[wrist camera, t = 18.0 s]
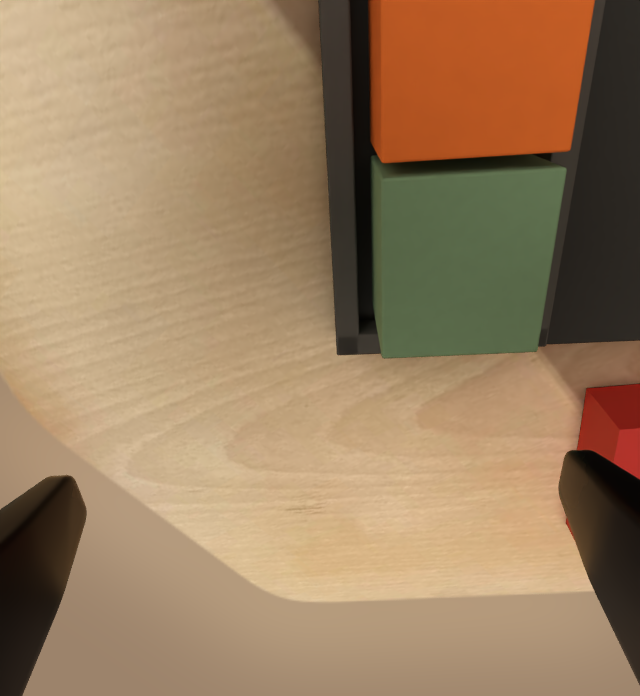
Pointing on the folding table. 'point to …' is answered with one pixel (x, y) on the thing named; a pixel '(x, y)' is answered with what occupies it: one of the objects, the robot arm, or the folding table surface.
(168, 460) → the folding table surface
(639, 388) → the red slab
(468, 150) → the orange block
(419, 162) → the green block
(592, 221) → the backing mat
